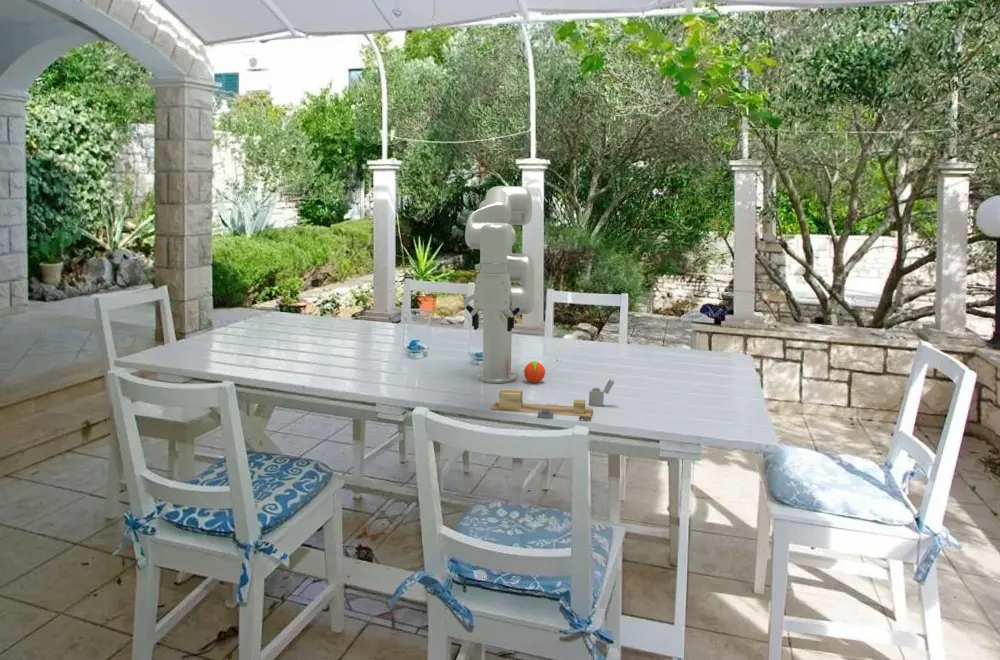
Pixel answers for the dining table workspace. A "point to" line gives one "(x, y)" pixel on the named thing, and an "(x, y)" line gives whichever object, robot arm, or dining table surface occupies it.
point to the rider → (510, 399)
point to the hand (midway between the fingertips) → (492, 330)
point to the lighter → (599, 394)
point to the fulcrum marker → (545, 414)
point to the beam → (554, 409)
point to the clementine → (534, 372)
